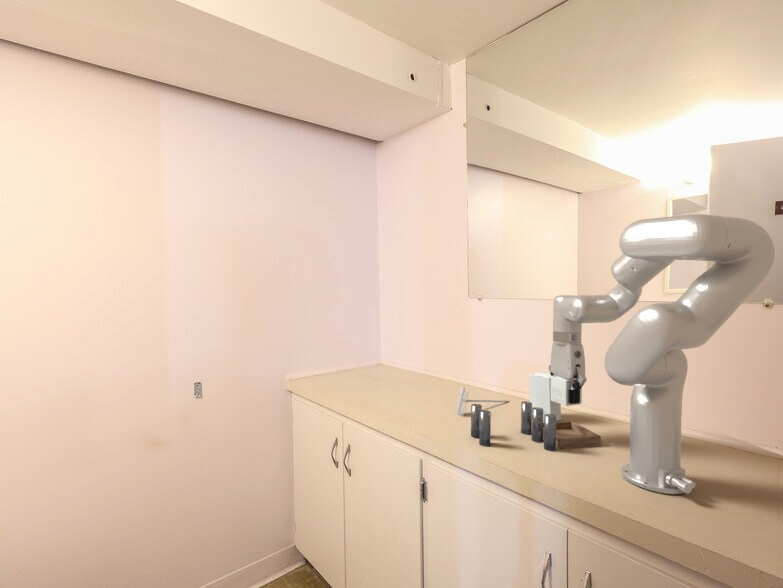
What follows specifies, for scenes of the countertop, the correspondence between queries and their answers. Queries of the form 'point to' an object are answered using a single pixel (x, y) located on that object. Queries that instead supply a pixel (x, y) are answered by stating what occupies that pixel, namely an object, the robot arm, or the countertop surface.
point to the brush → (461, 399)
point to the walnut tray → (574, 435)
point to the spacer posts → (529, 425)
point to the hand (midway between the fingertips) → (565, 399)
